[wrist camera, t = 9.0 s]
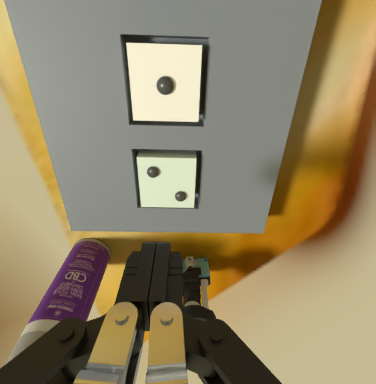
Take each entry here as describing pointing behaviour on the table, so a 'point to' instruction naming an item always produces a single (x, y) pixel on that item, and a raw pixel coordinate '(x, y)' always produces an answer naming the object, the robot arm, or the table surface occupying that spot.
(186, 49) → the tile one pip
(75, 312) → the container
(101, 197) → the button board
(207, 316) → the push button
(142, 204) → the tile two pips
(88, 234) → the table surface
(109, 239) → the table surface
